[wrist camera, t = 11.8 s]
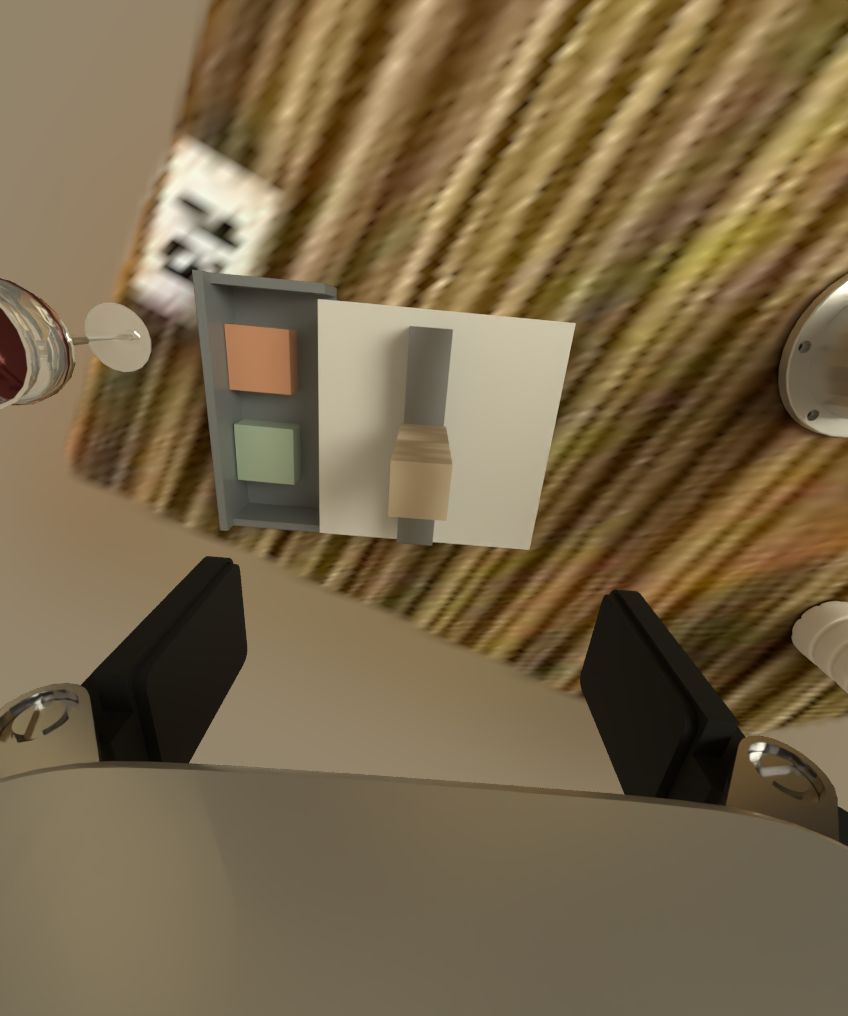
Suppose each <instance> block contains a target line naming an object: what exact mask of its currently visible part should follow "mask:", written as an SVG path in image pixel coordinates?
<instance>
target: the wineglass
mask: <svg viewBox="0 0 848 1016" xmlns="http://www.w3.org/2000/svg"><path fill="white" fill-rule="evenodd" d="M83 344H88V345H89V347H90V349H91V350H92V352H93V353H94V355H95V356H96V357H97V358H98V359H99V360H100V361H101V362H102V363H103V364H105V365H107V366H108V367H110V368H112V369H114V370H118V371H122V372H131V371H135V370H138V369H140V368H142V367H143V366H144V364H145V363H146V362H147V361H148V359H149V356H150V353H151V339H150V336H149V333H148V330H147V328H146V326H145V325H144V323H143V321H142V320H141V319H140V318H139V317H138V316H137V315H136V314H135V313H134V312H133V311H132V310H130V309H128V308H127V307H125V306H123V305H120V304H116V303H112V302H110V303H101V304H99V305H97V306H95V307H93V308H92V310H91V311H90V312H89V313H88V315H87V317H86V321H85V335H70V334H69V331H68V329H67V328H66V326H65V325H64V323H63V322H62V320H61V319H60V317H59V316H58V315H57V313H56V312H55V311H54V310H53V309H52V308H51V307H50V306H49V305H48V304H47V303H45V302H44V301H43V300H42V299H41V298H39V297H37V296H35V295H34V294H33V293H31V292H29V291H27V290H26V289H24V288H22V287H20V286H18V285H16V284H15V283H13V282H11V281H8V280H4V279H0V409H3V408H5V407H7V406H9V405H26V404H35V403H37V402H39V401H42V400H44V399H46V398H48V397H50V396H52V395H55V394H57V393H58V392H59V391H60V390H61V389H62V388H63V387H64V386H65V384H66V383H67V382H68V381H69V380H70V378H71V377H72V373H73V370H74V366H75V352H74V345H83Z"/></svg>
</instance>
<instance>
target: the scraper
mask: <svg viewBox="0 0 848 1016" xmlns="http://www.w3.org/2000/svg"><path fill="white" fill-rule="evenodd" d="M452 335H453V330H452V329H443V328H431V327H419V326H410V327H409V343H408V360H407V376H406V393H405V410H404V423H401V426H400V429H399V433H398V437H397V440H396V444H395V447H394V451H393V454H392V458H391V468H390V487H389V507H388V516H389V517H398V526H397V543H403V544H416V545H430V546H432V543H433V532H434V522H435V520H442V521H446V520H447V511H448V502H449V493H450V483H451V474H452V459H451V453H450V447H449V441H448V435H447V429H446V427H444V418H445V408H446V398H447V387H448V377H449V367H450V356H451V346H452Z"/></svg>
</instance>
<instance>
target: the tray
mask: <svg viewBox="0 0 848 1016" xmlns="http://www.w3.org/2000/svg"><path fill="white" fill-rule="evenodd" d="M192 273H193V282H194V292H195V301H196V310H197V320H198V329H199V338H200V348H201V357H202V366H203V375H204V385H205V394H206V403H207V413H208V422H209V431H210V440H211V450H212V459H213V468H214V478H215V487H216V496H217V505H218V515H219V524H220V530H224V531H228V530H229V529H230V528H231V527H232V526H233V525H235V526H247V527H259V528H271V529H284V530H296V531H308V532H320V513H319V395H318V299H324V300H334V301H337V288H335V287H332V286H330V285H327V284H325V283H314V282H304V281H293V280H283V279H272V278H262V277H251V276H241V275H230V274H219V273H209V272H205V271H199V270H192ZM224 324H245V325H255V326H266V327H277V328H287V329H297V358H298V392H296V393H294V394H292V395H285V394H274V393H263V392H252V391H241V390H230V387H229V375H228V363H227V351H226V339H225V328H224ZM243 419H251V420H262V421H272V422H282V423H292V424H300V446H301V477H300V479H299V480H298V481H297V482H296V483H295V485H290V484H279V483H268V482H257V481H247V480H238V474H237V461H236V447H235V434H234V424H235V423H237V422H239V421H241V420H243Z"/></svg>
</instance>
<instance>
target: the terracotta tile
mask: <svg viewBox="0 0 848 1016" xmlns="http://www.w3.org/2000/svg"><path fill="white" fill-rule="evenodd" d="M224 328H225V339H226V351H227V363H228V375H229V387H230V390H241V391H252V392H263V393H274V394H285V395H292V394H294V393H296V392H298V358H297V329H287V328H277V327H266V326H255V325H245V324H224Z"/></svg>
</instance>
